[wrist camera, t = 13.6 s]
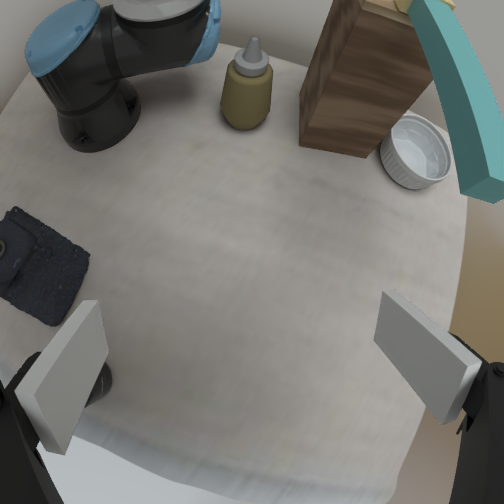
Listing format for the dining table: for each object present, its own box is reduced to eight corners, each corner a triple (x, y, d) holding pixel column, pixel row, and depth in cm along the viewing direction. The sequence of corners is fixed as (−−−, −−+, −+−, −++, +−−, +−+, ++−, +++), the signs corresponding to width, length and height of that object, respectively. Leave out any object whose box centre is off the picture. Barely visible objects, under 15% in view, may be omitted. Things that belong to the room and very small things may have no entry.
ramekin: (378, 121, 54) (393, 101, 47) (433, 149, 54) (452, 133, 47) (368, 178, 51) (387, 160, 44) (430, 206, 51) (452, 193, 44)
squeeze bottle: (246, 144, 50) (259, 68, 32) (209, 118, 50) (208, 39, 33) (277, 116, 51) (299, 40, 34) (241, 91, 52) (250, 14, 34)
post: (365, 158, 52) (464, 41, 22) (298, 146, 51) (365, 0, 21) (360, 105, 54) (433, -11, 25) (299, 92, 53) (349, -43, 24)
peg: (497, 207, 18) (530, 190, 14) (449, 193, 17) (484, 171, 14) (432, 13, 22) (446, -8, 19) (392, -4, 22) (404, -27, 19)
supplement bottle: (120, 390, 40) (90, 411, 28) (84, 403, 39) (47, 424, 27) (101, 346, 41) (65, 354, 29) (66, 361, 40) (24, 370, 28)
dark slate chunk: (60, 343, 41) (45, 345, 36) (-23, 277, 41) (-39, 273, 36) (99, 254, 44) (87, 247, 40) (11, 201, 44) (-3, 192, 40)
